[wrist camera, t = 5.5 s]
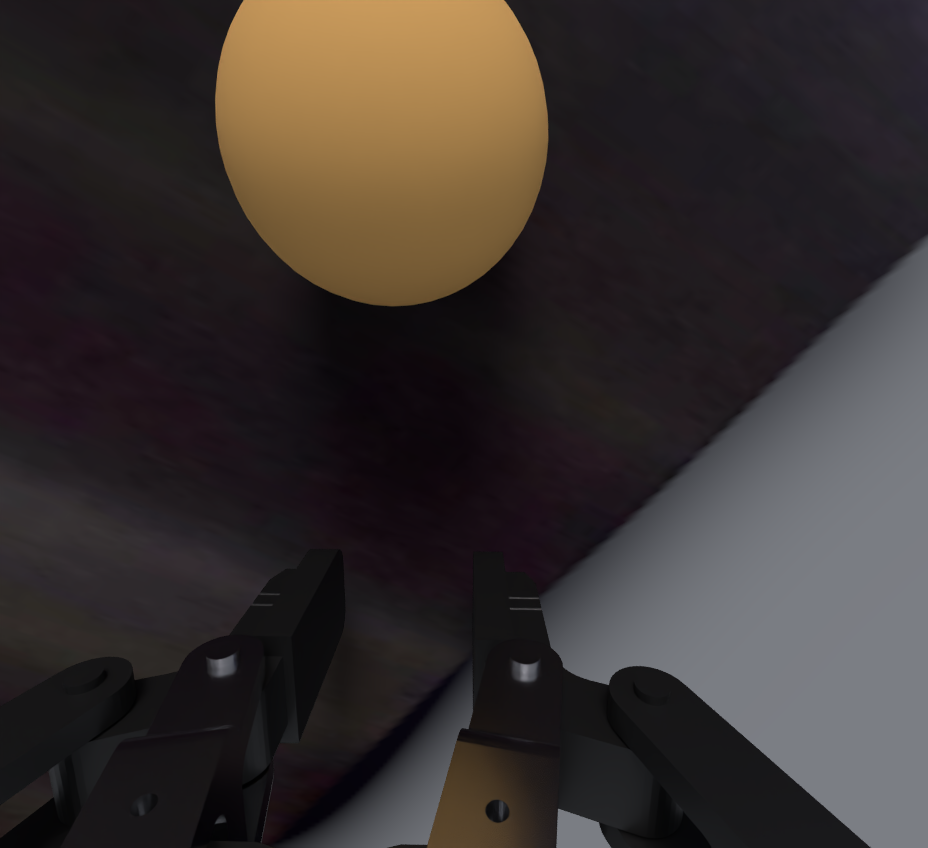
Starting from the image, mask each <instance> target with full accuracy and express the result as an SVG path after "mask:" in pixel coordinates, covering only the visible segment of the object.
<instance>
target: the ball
mask: <svg viewBox="0 0 928 848" xmlns="http://www.w3.org/2000/svg"><path fill="white" fill-rule="evenodd" d="M215 104H216V127H217V134H218V141H219V147H220V151H221V155H222V158H223V162H224V166H225V170H226V172H227V175H228V177H229V180H230V182H231V185H232V187H233V190H234V192H235V195H236V197H237V199H238V201H239V203H240V205H241V207H242V209H243V211H244V212H245V214H246V216H247V218H248V219H249V221H250V222H251V224H252V225H253V227H254V228H255V229H256V231H257V232H258V234H259V235H260V237H261V238H262V239H263V240H264V241H265V242H266V243H267V244H268V245H269V247H270V248H271V249H272V250H273V251H274V252H275V253H276V254H277V255H278V256H279V257H280V258H281V259H282V260H283V261H284V262H285V263H286V264H288V265H289V266H290V267H291V268H292V269H293V270H294V271H296V272H297V273H298V274H300V275H301V276H303V277H304V278H306V279H307V280H309V281H310V282H312V283H313V284H315V285H317V286H319V287H321V288H323V289H325V290H327V291H329V292H331V293H334V294H336V295H339V296H342V297H345V298H348V299H350V300H353V301H357V302H362V303H367V304H371V305H381V306H407V305H416V304H421V303H426V302H431V301H434V300H437V299H440V298H443V297H445V296H448V295H451V294H453V293H455V292H457V291H459V290H461V289H463V288H465V287H467V286H468V285H470V284H471V283H472V282H474V281H475V280H477V279H478V278H480V277H481V276H483V275H484V274H485V273H486V272H487V271H488V270H490V269H491V268H492V267H493V266H494V265H495V264H496V263H497V262H498V261H499V260H500V259H501V258H502V257H503V256H504V254H505V253H506V252H507V251H508V250H509V249H510V248H511V246H512V245H513V243H514V242H515V240H516V239H517V237H518V236H519V234H520V233H521V231H522V230H523V228H524V226H525V224H526V222H527V220H528V218H529V216H530V214H531V212H532V210H533V207H534V204H535V201H536V199H537V196H538V193H539V190H540V187H541V183H542V178H543V174H544V169H545V165H546V157H547V147H548V114H547V107H546V100H545V93H544V87H543V82H542V79H541V75H540V71H539V67H538V63H537V60H536V58H535V55H534V53H533V50H532V48H531V45H530V43H529V40H528V38H527V36H526V35H525V33H524V31H523V29H522V27H521V26H520V24H519V22H518V20H517V18H516V17H515V15H514V13H513V12H512V10H511V9H510V8H509V6H508V5H507V4H506V2H505V1H504V0H244V1H243V2H242V4H241V6H240V8H239V9H238V11H237V13H236V15H235V17H234V19H233V21H232V23H231V25H230V28H229V31H228V34H227V37H226V40H225V42H224V45H223V49H222V53H221V58H220V62H219V67H218V74H217V85H216V98H215Z"/></svg>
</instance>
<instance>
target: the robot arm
mask: <svg viewBox="0 0 928 848" xmlns="http://www.w3.org/2000/svg"><path fill="white" fill-rule="evenodd" d="M344 621H345V589H344V568H343V555H342V551H341V550H338V549H310V550H309V551H308V552H307V554H306V555H305V557H304V558H303V560H302V561H301V563H300V564H299V566H298V567H297V569H285V570H284V571H282V572H281V573H279V574H278V575H276V576H275V577H273V578H272V579H270V580H269V582H268V583H267V584H266V586H265V587H264V588H263V590H262V591H261V594H260V595H258V597H257V598H256V599H255V601H254V602H253V606H250V607H249V609H248V610H247V612H246V613H245V614H244V616H243V617H242V618H241V620H240V621H239V622H238V624H237V625H236V627H235V628H234V629H233V631H232V632H231V633H230V635H229V636H223V637H219V638H216V639H213V640H211V641H208V642H206V643H204V644H202V645H200V646H199V647H197V648H196V649H194V650H193V651H192V652H191V653H190V654H189V655H188V656H187V657H186V658H185V660H184V661H183V663H182V665H181V667H180V669H179V671H178V672H174V673H169V674H164V675H159V676H154V677H149V678H144V679H139V680H134V674H133V667H132V665H131V663H130V662H129V661H127V660H126V659H123V658H119V657H102V658H96V659H91V660H88V661H84V662H81V663H79V664H76V665H74V666H71V667H69V668H67V669H65V670H63V671H61V672H59V673H58V674H56V675H54V676H52V677H51V678H49V679H47V680H45V681H44V682H42V683H40V684H38V685H37V686H35V687H33V688H32V689H30V690H28V691H26V692H25V693H23V694H21V695H19V696H18V697H16V698H14V699H12V700H11V701H9V702H7V703H6V704H4V705H2V706H0V805H1V804H2V803H4V802H5V801H7V800H8V799H9V798H11V797H12V796H14V795H15V794H16V793H18V792H19V791H21V790H22V789H23V788H25V787H26V786H27V785H29V784H30V783H32V782H33V781H34V780H36V779H37V778H39V777H40V776H41V775H43V774H44V773H46V772H47V771H48V770H49V775H50V780H51V785H52V790H53V795H54V798H52V799H51V800H50V801H48V802H47V803H46V804H44V805H43V806H42V807H40V808H39V809H38V810H37V811H35V812H34V813H33V814H31V815H30V816H29V817H27V818H26V819H25V820H24V821H22V822H21V823H20V824H18V825H17V826H16V827H14V828H13V829H12V830H11V831H9V832H8V833H7V834H5V835H4V836H3V837H1V838H0V848H274V847H271V846H268V845H265V844H262V843H261V841H262V835H263V830H264V825H265V820H266V814H267V809H268V804H269V798H270V793H271V788H272V782H273V777H274V763H273V757H274V755H275V752H276V750H277V748H278V745H279V743H299V742H300V739H301V737H302V734H303V732H304V729H305V726H306V724H307V721H308V719H309V716H310V714H311V711H312V709H313V706H314V704H315V701H316V698H317V696H318V693H319V691H320V688H321V686H322V683H323V681H324V678H325V675H326V673H327V670H328V668H329V665H330V663H331V660H332V658H333V655H334V653H335V650H336V647H337V645H338V642H339V640H340V637H341V635H342V631H343V627H344ZM472 641H473V714H472V718H471V722H470V725H469V729H464V728H462V729H461V730H460V732H459V735H458V738H457V741H456V745H455V749H454V752H453V756H452V760H451V763H450V767H449V770H448V774H447V777H446V781H445V784H444V788H443V791H442V795H441V799H440V802H439V806H438V809H437V813H436V816H435V820H434V824H433V827H432V831H431V834H430V838H429V841H428V845H397V846H393V847H389V848H556V839H557V816H558V809H561V810H564V811H568V812H570V813H573V814H576V815H579V816H582V817H585V818H588V819H591V820H594V821H597V822H599V824H600V828H601V831H602V833H603V835H604V837H605V839H606V840H607V842H608V843H609V845H610V846H611V848H870V847H869V846H868V845H867V844H866V843H865V842H864V841H862V840H861V839H860V838H859V837H858V836H857V835H855V834H854V833H853V832H852V831H851V830H850V829H849V828H848V827H847V826H845V825H844V824H843V823H842V822H841V821H840V820H838V819H837V818H836V817H835V816H834V815H833V814H832V813H831V812H829V811H828V810H827V809H826V808H825V807H824V806H823V805H821V804H820V803H819V802H818V801H817V800H815V798H813V797H812V796H811V795H810V794H809V793H808V792H806V791H805V790H804V789H803V788H802V787H801V786H800V785H799V784H797V783H796V782H795V781H794V780H793V779H792V778H790V777H789V776H788V775H787V774H786V773H785V772H784V771H783V770H781V769H780V768H779V767H778V766H777V765H776V764H775V763H774V762H772V761H771V760H770V759H769V758H768V757H767V756H766V755H764V754H763V753H762V752H761V751H760V750H759V749H758V748H756V747H755V746H754V745H753V744H752V743H751V742H750V741H748V740H747V739H746V738H745V737H744V736H743V735H742V734H740V733H739V732H738V731H737V730H736V729H735V728H734V727H732V726H731V725H730V724H729V723H728V722H727V721H726V720H724V719H723V718H722V717H721V716H720V715H719V714H718V713H716V712H715V711H714V710H713V709H712V708H711V707H709V705H707V704H706V703H705V702H704V701H703V700H702V699H701V698H699V697H698V696H697V695H696V694H695V693H694V692H693V691H691V690H690V689H689V688H688V687H687V686H686V685H684V684H683V683H682V682H681V681H680V680H678V679H677V678H675V677H673V676H672V675H670V674H668V673H666V672H663V671H661V670H658V669H654V668H650V667H644V666H633V667H627V668H624V669H621V670H619V671H618V672H616V673H615V674H614V675H613V676H612V677H611V680H610V683H609V685H606V684H602V683H598V682H594V681H590V680H587V679H583V678H581V677H578V676H576V675H574V674H572V673H570V672H569V671H567V670H565V669H564V668H563V663H562V661H561V658H560V657H559V655H558V654H557V653H556V652H555V651H554V650H553V649H552V648H551V647H550V642H549V638H548V634H547V630H546V626H545V621H544V617H543V613H542V610H541V604H540V600H539V596H538V592H537V588H536V584H535V583H534V582H533V581H532V580H531V579H530V578H529V577H528V576H527V575H526V574H525V573H524V572H505V566H504V559H503V552H473V620H472Z"/></svg>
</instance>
